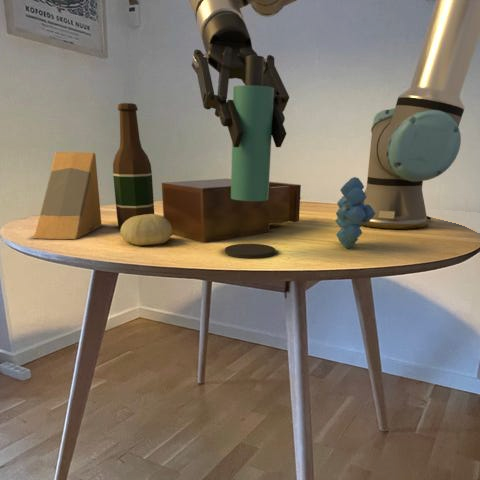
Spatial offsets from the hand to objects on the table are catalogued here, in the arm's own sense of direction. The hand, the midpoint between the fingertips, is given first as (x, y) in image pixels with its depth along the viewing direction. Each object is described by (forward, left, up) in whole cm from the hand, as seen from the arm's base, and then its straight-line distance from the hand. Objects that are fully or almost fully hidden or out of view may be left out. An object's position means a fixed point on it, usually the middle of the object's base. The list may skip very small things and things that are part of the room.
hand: (260, 140), depth 69 cm
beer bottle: (+2, -36, -18) cm, 40 cm away
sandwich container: (+15, -40, -18) cm, 47 cm away
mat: (-1, -3, -18) cm, 18 cm away
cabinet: (-8, -21, -18) cm, 29 cm away
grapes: (-17, +6, -18) cm, 25 cm away
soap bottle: (-1, -3, -9) cm, 9 cm away
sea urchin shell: (+8, -21, -18) cm, 29 cm away
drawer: (-20, -21, -17) cm, 34 cm away
